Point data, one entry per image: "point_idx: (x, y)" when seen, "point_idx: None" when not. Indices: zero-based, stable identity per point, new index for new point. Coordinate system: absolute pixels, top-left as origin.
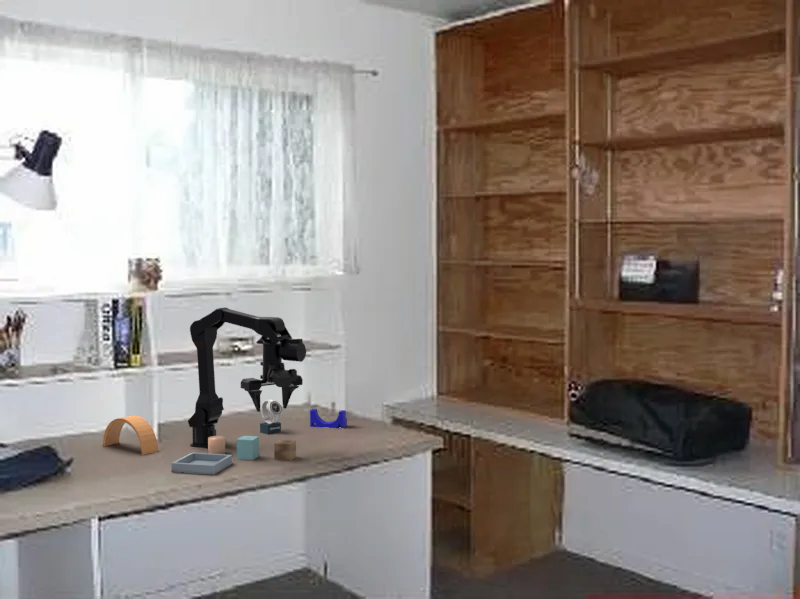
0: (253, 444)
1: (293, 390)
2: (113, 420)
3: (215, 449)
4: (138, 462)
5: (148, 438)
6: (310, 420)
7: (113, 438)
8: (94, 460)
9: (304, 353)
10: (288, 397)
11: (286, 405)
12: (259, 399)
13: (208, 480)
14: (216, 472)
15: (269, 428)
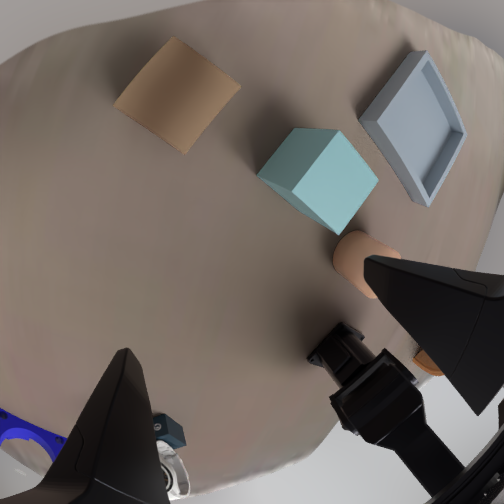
0: (320, 136)
1: (27, 492)
2: None
3: (374, 238)
4: (456, 231)
5: None
6: None
7: (426, 355)
8: (470, 264)
9: None
10: (90, 427)
11: (115, 364)
12: (459, 282)
13: (419, 25)
14: (404, 59)
15: (163, 427)
